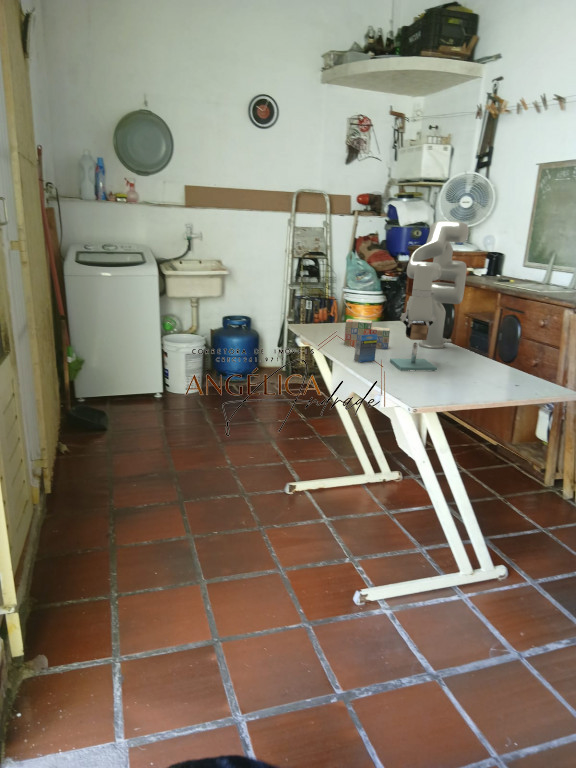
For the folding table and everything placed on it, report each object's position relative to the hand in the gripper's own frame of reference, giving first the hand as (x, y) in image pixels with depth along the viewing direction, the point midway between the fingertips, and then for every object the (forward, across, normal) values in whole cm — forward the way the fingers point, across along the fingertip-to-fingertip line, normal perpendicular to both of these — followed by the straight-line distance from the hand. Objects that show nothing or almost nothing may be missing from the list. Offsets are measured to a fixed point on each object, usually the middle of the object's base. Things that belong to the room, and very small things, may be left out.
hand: (416, 335), depth 235 cm
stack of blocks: (+14, +10, -37) cm, 40 cm away
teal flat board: (+14, 0, 0) cm, 14 cm away
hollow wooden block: (+1, 0, 0) cm, 1 cm away
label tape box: (+14, +19, -9) cm, 25 cm away
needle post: (+12, 0, 0) cm, 12 cm away
